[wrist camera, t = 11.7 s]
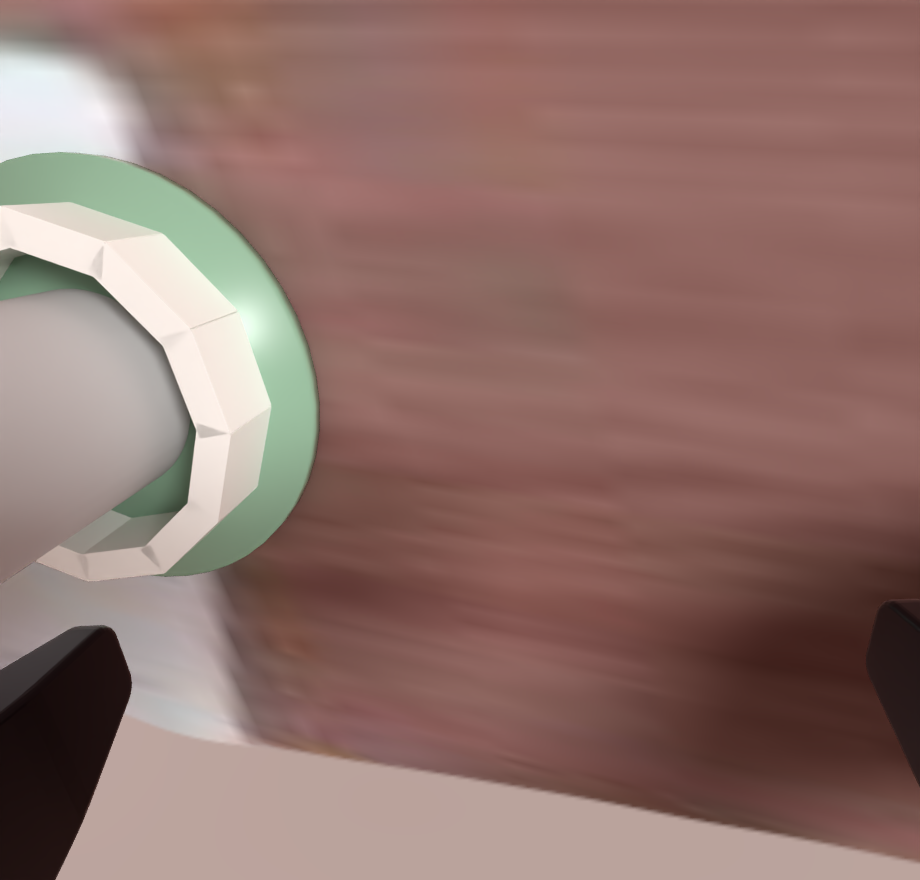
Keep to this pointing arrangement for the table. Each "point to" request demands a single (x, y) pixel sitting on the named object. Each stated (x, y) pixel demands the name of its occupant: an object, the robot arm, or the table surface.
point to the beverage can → (78, 417)
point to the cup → (173, 356)
